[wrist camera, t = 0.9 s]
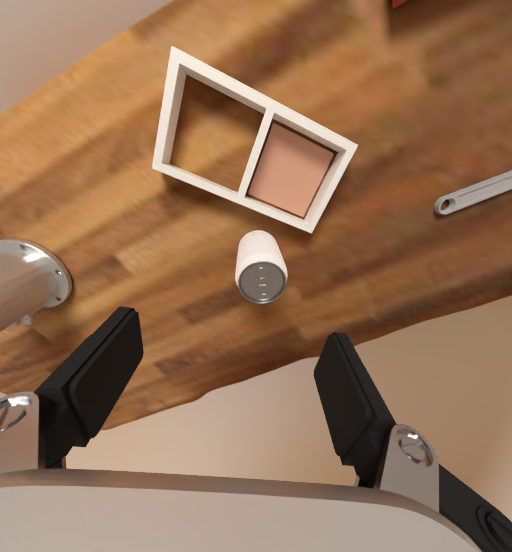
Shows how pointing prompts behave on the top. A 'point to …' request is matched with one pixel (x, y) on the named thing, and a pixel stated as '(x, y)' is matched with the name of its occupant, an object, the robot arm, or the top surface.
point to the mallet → (397, 3)
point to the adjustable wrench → (475, 193)
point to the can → (260, 268)
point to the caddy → (276, 155)
